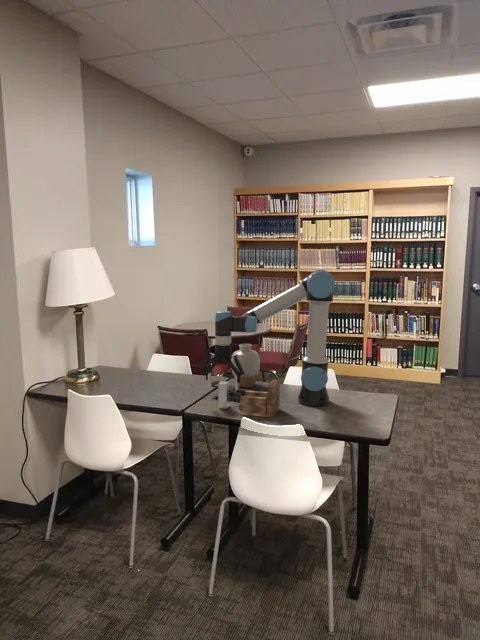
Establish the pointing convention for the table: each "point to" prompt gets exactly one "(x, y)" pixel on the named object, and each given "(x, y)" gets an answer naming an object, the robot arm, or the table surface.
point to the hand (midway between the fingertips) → (223, 388)
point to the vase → (247, 365)
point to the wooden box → (261, 401)
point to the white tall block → (223, 394)
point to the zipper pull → (232, 392)
